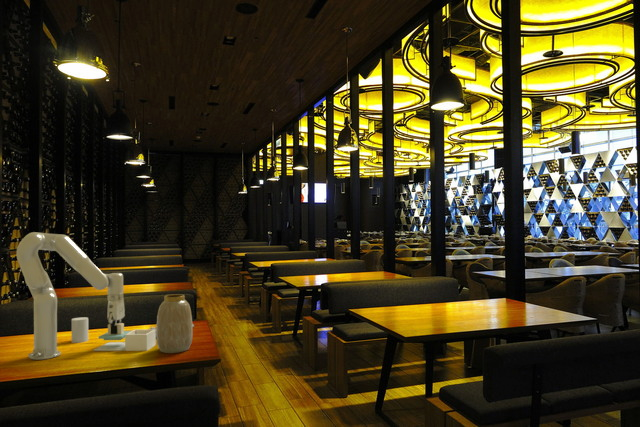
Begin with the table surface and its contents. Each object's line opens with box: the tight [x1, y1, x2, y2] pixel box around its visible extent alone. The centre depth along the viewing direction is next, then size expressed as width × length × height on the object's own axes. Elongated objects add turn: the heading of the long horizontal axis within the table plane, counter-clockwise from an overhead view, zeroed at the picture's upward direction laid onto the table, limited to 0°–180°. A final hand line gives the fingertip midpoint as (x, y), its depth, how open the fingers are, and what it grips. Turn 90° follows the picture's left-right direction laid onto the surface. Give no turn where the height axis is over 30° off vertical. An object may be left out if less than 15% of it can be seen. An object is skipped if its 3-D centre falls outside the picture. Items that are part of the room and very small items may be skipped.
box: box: [124, 329, 157, 352], centre depth 236 cm, size 11×11×8 cm
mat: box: [93, 341, 125, 352], centre depth 238 cm, size 15×15×1 cm
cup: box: [71, 316, 89, 344], centre depth 252 cm, size 8×8×12 cm
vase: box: [156, 293, 193, 354], centre depth 231 cm, size 17×17×27 cm
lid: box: [98, 322, 132, 341], centre depth 238 cm, size 12×12×7 cm
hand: (115, 332), depth 238 cm, fingers closed on lid, 3 cm apart
